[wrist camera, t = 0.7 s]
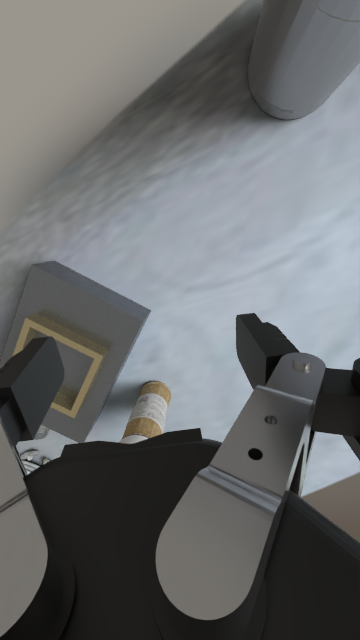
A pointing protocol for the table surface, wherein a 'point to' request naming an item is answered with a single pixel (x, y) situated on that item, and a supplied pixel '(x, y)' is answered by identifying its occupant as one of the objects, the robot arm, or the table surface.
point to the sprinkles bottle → (148, 413)
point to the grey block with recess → (76, 341)
